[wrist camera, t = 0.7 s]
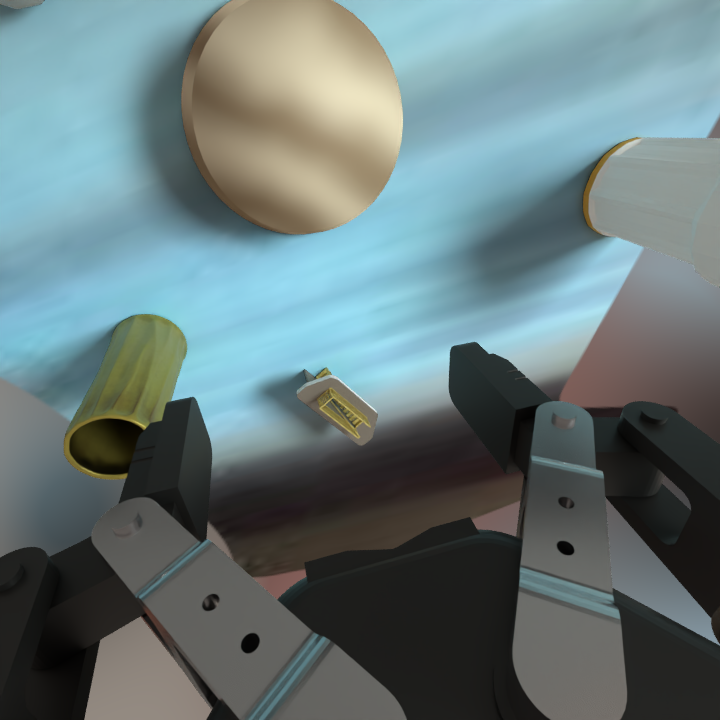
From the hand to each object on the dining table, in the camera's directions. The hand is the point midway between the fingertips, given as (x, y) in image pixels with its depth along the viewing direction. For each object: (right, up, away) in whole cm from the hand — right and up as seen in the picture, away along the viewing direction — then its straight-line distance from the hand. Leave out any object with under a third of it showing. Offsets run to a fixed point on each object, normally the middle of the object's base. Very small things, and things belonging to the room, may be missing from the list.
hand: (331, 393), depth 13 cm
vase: (-18, +3, +25) cm, 31 cm away
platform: (-2, -1, +33) cm, 33 cm away
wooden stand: (-4, +19, +19) cm, 27 cm away
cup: (+27, +18, +29) cm, 44 cm away
